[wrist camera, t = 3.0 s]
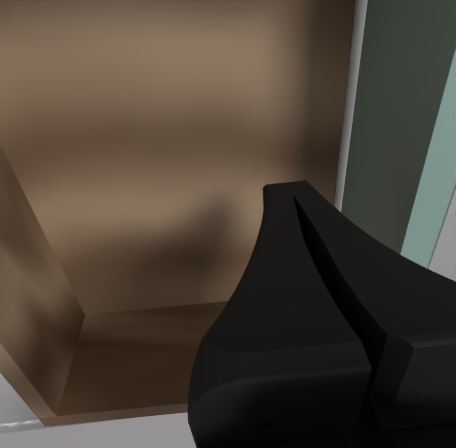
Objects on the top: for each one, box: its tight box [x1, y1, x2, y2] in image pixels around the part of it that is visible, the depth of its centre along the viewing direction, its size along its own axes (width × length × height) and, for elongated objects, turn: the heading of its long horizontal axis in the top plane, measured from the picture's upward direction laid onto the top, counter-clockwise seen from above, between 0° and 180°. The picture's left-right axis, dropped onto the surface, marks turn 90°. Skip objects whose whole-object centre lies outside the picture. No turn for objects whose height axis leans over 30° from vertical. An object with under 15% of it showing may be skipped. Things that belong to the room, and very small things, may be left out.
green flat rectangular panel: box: [341, 0, 456, 269], centre depth 13 cm, size 17×2×6 cm, turn 5°
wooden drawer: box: [0, 0, 356, 426], centre depth 14 cm, size 20×14×7 cm
